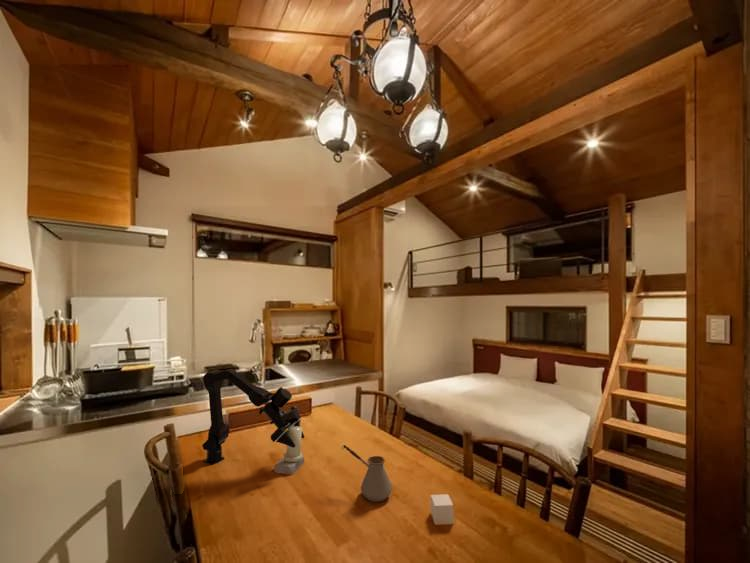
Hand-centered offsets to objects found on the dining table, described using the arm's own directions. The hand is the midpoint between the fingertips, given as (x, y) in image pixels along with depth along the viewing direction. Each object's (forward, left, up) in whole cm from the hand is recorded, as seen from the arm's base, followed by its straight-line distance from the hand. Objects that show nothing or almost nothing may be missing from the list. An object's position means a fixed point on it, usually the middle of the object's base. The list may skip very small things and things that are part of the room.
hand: (299, 442), depth 145 cm
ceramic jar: (-3, 0, -7) cm, 8 cm away
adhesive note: (+64, 0, -11) cm, 65 cm away
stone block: (-5, -1, -12) cm, 13 cm away
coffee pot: (+34, 0, -11) cm, 35 cm away
